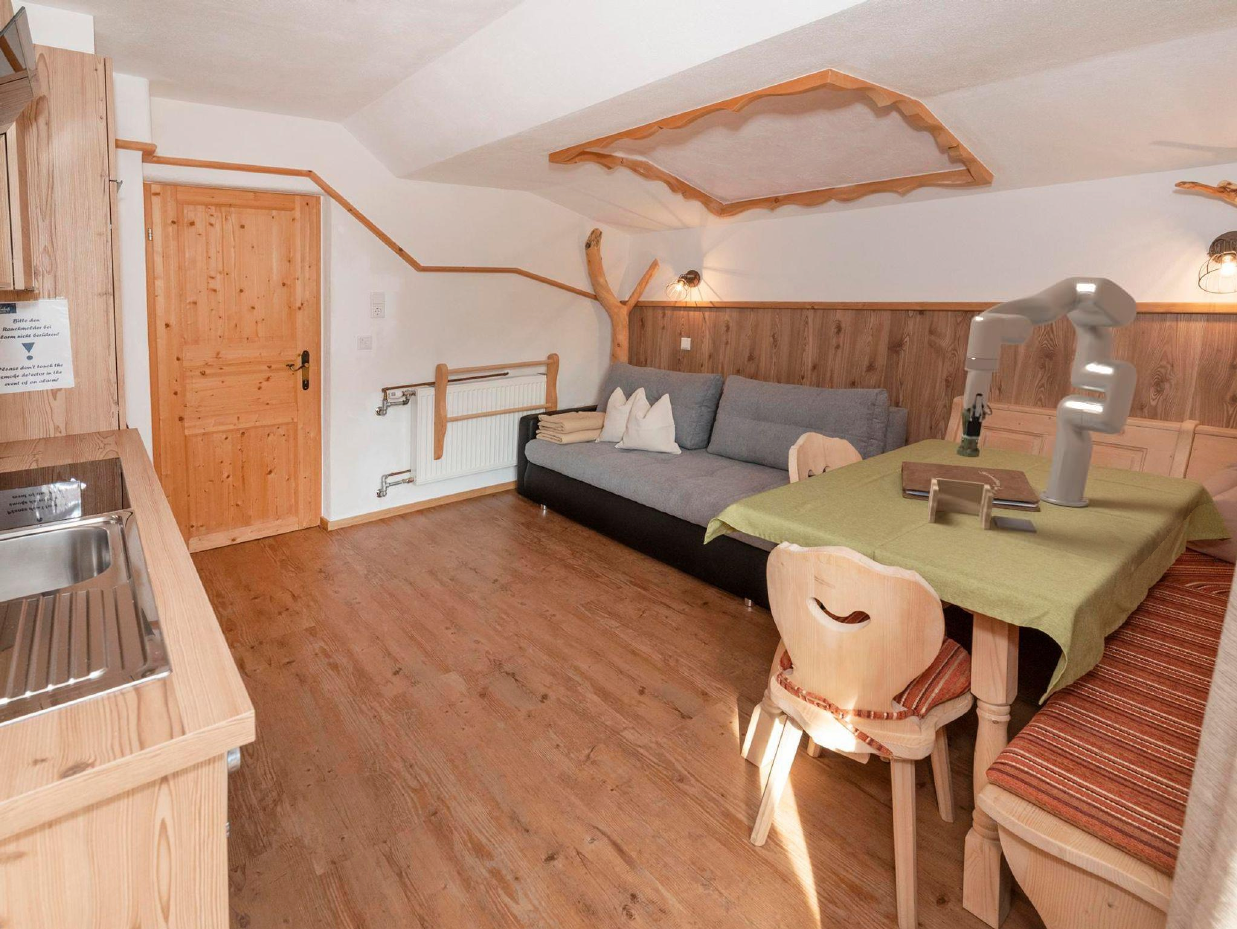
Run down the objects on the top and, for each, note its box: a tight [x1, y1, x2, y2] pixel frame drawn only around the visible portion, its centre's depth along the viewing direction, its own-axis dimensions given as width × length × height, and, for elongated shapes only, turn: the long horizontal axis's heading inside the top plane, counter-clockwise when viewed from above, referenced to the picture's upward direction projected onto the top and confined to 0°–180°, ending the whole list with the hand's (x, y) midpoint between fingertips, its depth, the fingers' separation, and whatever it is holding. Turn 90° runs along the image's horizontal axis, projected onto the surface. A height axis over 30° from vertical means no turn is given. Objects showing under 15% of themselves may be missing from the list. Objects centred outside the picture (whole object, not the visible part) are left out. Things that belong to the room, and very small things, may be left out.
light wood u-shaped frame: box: [927, 477, 995, 531], centre depth 198 cm, size 13×14×9 cm
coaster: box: [993, 515, 1037, 534], centre depth 194 cm, size 9×9×1 cm
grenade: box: [956, 399, 993, 458], centre depth 190 cm, size 7×7×15 cm
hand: (971, 432), depth 190 cm, fingers closed on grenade, 6 cm apart
